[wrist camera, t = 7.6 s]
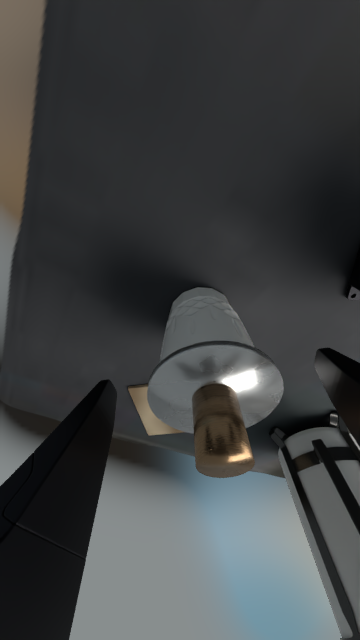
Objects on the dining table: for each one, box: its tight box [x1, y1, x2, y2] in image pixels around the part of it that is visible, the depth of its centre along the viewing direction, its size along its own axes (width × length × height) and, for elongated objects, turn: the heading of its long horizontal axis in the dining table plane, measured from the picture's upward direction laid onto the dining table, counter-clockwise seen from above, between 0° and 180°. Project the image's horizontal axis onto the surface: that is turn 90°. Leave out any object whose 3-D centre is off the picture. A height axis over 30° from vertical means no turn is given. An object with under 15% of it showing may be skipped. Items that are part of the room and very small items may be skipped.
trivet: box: [128, 384, 184, 435], centre depth 32 cm, size 12×12×1 cm
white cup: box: [160, 287, 255, 362], centre depth 19 cm, size 8×8×10 cm
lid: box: [147, 341, 284, 478], centre depth 13 cm, size 9×9×5 cm
